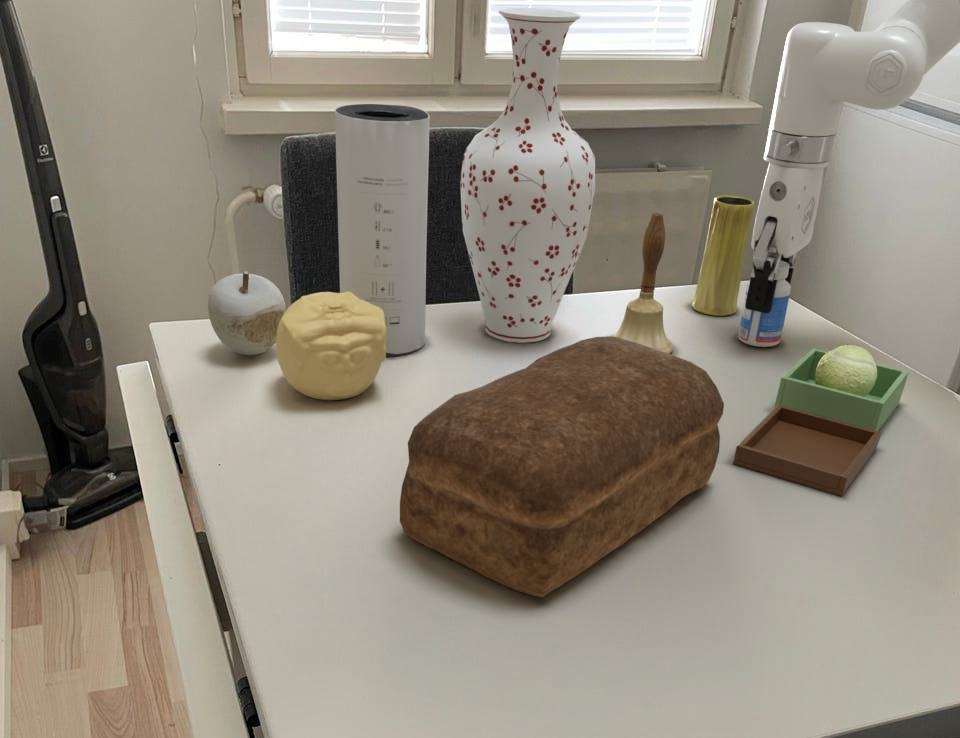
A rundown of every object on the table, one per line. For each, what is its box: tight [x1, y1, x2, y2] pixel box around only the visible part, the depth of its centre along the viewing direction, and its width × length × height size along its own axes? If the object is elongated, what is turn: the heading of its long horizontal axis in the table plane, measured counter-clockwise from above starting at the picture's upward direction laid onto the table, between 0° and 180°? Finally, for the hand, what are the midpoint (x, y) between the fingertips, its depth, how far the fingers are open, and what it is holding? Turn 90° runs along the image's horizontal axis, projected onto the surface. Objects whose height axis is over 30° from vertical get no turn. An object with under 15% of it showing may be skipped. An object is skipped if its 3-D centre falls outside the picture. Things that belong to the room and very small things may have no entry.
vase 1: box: [459, 7, 596, 344], centre depth 117 cm, size 16×16×35 cm
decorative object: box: [207, 270, 286, 356], centre depth 115 cm, size 9×9×10 cm
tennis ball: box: [815, 344, 877, 397], centre depth 110 cm, size 6×7×7 cm
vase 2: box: [691, 195, 755, 317], centre depth 134 cm, size 6×6×14 cm
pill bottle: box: [738, 258, 792, 348], centre depth 126 cm, size 6×5×10 cm
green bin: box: [773, 347, 910, 432], centre depth 112 cm, size 11×11×4 cm
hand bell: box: [611, 211, 674, 354], centre depth 120 cm, size 8×8×16 cm
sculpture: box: [275, 291, 387, 401], centre depth 107 cm, size 11×12×11 cm
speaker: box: [334, 103, 431, 357], centre depth 115 cm, size 11×10×26 cm
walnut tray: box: [732, 405, 882, 497], centre depth 102 cm, size 11×13×2 cm
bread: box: [399, 335, 725, 598], centre depth 88 cm, size 17×30×13 cm, turn 140°
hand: (766, 302), depth 126 cm, fingers closed on pill bottle, 5 cm apart
